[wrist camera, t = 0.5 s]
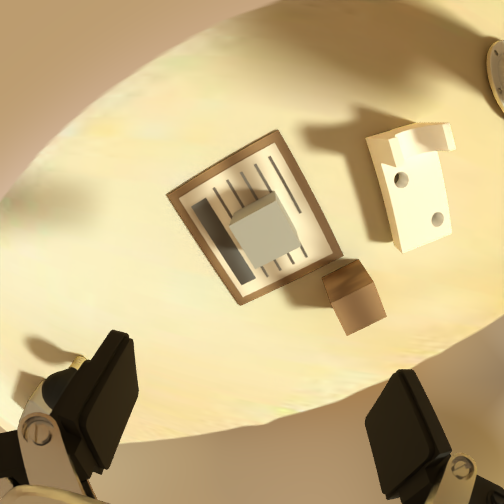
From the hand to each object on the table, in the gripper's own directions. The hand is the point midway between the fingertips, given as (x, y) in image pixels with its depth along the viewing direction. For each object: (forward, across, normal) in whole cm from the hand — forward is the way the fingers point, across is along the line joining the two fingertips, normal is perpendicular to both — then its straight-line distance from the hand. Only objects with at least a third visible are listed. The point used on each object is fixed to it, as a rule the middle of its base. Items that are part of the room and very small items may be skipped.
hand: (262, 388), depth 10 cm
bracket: (+25, -16, -6) cm, 31 cm away
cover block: (+25, 0, +1) cm, 25 cm away
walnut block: (+25, -12, +7) cm, 29 cm away
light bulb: (+26, +26, +30) cm, 48 cm away
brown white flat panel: (+25, 0, +2) cm, 25 cm away
